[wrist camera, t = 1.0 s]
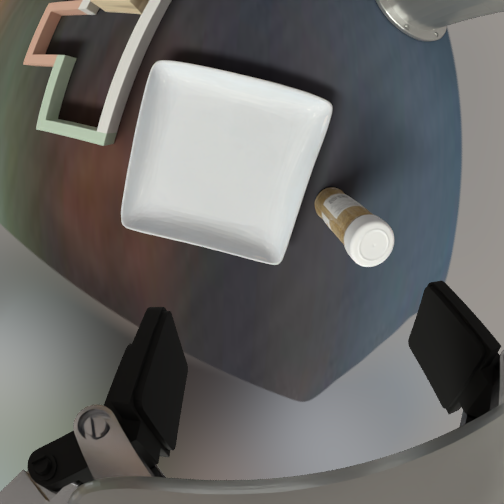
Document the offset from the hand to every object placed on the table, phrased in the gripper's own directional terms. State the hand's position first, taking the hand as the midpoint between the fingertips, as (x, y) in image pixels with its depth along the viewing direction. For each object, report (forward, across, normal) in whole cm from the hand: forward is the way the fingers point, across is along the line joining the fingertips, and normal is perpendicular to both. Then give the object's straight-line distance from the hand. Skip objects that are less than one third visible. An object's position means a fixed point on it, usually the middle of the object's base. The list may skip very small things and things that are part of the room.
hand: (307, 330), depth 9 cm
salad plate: (+27, +5, -3) cm, 28 cm away
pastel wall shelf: (+27, +22, -22) cm, 41 cm away
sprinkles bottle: (+27, -9, +4) cm, 29 cm away
